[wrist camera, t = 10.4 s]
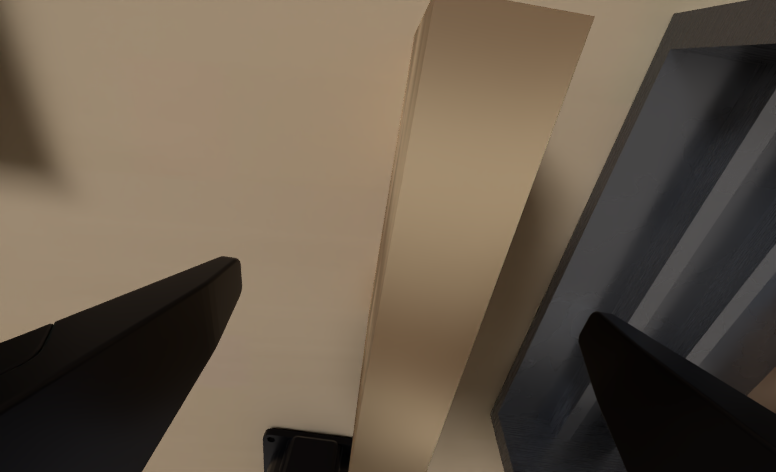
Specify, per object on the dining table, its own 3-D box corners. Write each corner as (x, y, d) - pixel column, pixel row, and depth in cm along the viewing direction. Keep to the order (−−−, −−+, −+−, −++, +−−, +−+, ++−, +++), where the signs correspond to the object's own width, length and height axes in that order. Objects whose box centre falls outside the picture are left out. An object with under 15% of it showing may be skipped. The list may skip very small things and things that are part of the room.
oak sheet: (408, 318, 17) (413, 505, 10) (369, 312, 17) (345, 496, 10) (472, 45, 11) (594, 16, 4) (414, 35, 11) (437, -12, 4)
